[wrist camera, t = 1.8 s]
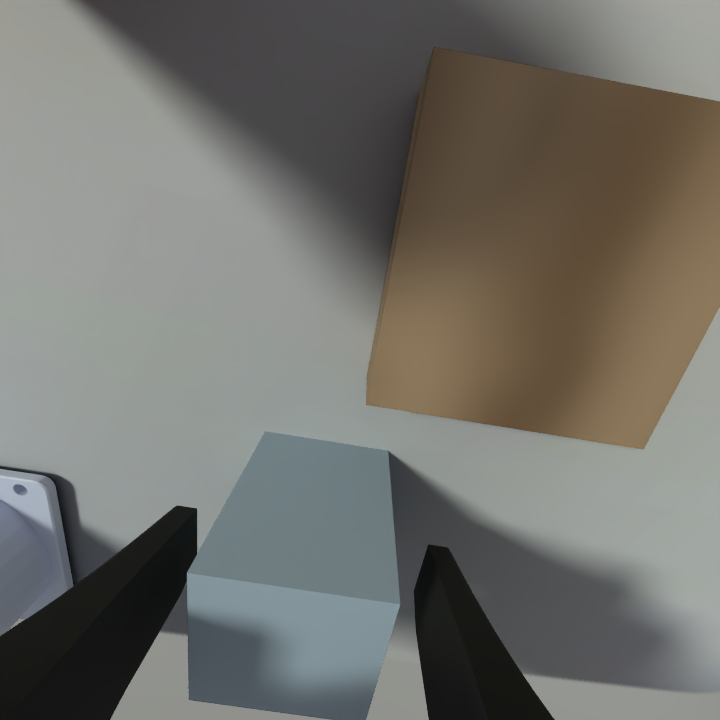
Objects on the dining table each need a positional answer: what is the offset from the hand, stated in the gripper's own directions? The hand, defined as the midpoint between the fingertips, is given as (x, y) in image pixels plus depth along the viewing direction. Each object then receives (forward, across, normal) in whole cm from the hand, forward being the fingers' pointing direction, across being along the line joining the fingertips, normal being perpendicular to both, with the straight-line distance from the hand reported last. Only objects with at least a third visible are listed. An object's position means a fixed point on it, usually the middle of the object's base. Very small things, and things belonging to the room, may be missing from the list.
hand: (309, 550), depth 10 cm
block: (+3, 0, 0) cm, 3 cm away
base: (+3, -5, -9) cm, 11 cm away
